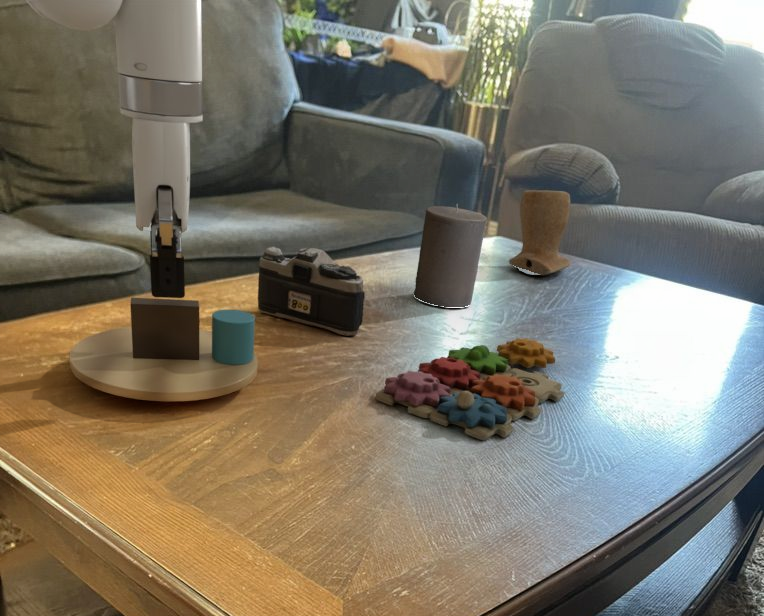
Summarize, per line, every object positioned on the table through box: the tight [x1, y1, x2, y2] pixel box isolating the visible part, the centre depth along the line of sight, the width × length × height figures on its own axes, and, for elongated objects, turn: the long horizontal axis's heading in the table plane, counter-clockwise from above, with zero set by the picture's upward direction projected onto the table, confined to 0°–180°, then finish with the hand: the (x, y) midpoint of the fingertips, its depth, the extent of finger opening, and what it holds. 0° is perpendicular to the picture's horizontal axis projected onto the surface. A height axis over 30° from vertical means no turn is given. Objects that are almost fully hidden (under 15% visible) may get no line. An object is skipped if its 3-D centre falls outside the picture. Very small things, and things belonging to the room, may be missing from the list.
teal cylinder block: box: [211, 309, 256, 365], centre depth 86 cm, size 5×5×5 cm
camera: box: [257, 245, 366, 337], centre depth 109 cm, size 16×10×10 cm, turn 65°
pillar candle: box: [413, 203, 488, 307], centre depth 123 cm, size 10×10×15 cm
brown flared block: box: [508, 189, 572, 276], centre depth 150 cm, size 15×12×15 cm
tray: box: [68, 297, 259, 402], centre depth 84 cm, size 20×20×7 cm
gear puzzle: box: [374, 337, 565, 441], centre depth 96 cm, size 31×16×4 cm, turn 146°
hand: (167, 282), depth 82 cm, fingers open, 9 cm apart
